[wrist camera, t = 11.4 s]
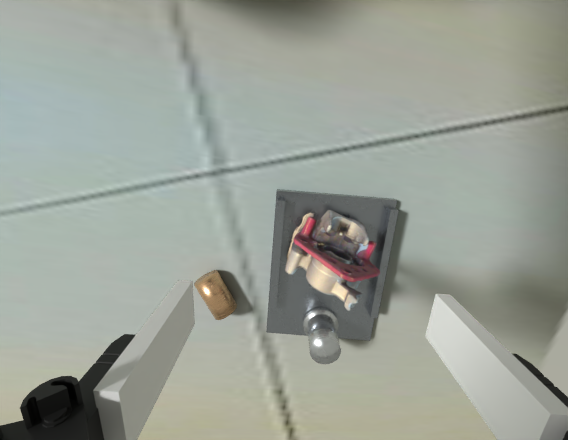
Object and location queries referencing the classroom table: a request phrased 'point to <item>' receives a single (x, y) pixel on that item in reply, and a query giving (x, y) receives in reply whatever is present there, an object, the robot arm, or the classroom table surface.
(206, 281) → the golden brown rounded block
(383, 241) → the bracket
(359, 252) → the brake caliper
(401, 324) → the classroom table surface
